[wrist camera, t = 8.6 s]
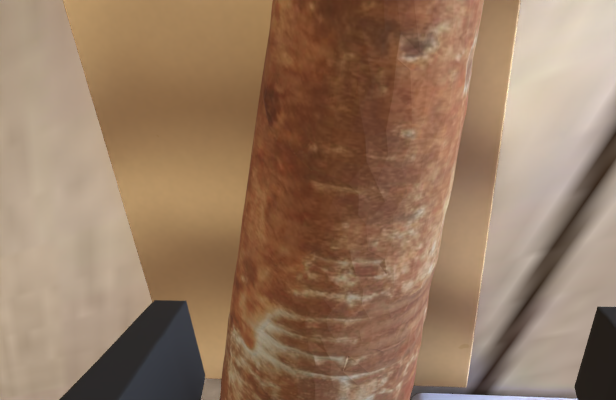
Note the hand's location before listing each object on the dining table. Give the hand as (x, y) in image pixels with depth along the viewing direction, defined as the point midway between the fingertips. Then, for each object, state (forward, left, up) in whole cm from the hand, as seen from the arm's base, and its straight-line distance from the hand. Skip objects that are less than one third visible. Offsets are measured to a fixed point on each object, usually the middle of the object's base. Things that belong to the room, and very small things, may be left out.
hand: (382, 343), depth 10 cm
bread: (0, +2, -8) cm, 8 cm away
